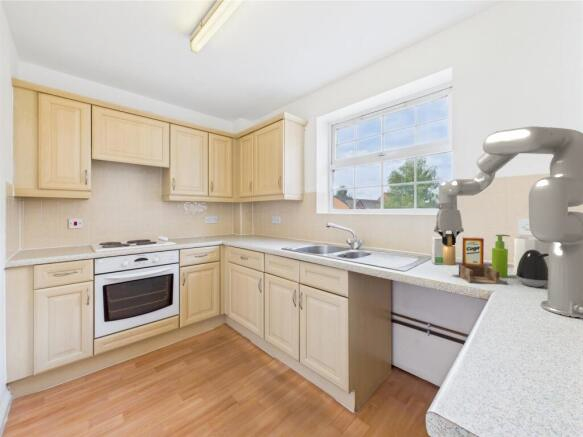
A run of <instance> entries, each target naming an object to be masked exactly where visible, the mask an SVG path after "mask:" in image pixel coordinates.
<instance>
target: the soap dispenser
mask: <svg viewBox="0 0 583 437" xmlns="http://www.w3.org/2000/svg"><path fill="white" fill-rule="evenodd" d="M495 237H497V240H496V241H495V243H494V244H495V245H494V247H492V248H491V268H492V269H495V270H497V271H499V278H508V272H509V271H508V264H509V263H508V262H509V258H508V255H509V249H508V248H505V241H503V237H511V235H508V234H502V233H501V234H495Z"/></svg>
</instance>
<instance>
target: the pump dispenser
mask: <svg viewBox="0 0 583 437" xmlns="http://www.w3.org/2000/svg"><path fill="white" fill-rule="evenodd" d="M546 256H549V254H548V253H546V254H541V253H540V252H539V251H537V250H528V251H526V252H525V253H524V254H523V256H522V257H521V259H520V261H519V264H518V267H517V273H515V274H516V276H517V279H518V281H519V283H521V284H523V285H525V286H527V287H532V288H543V287H544V286H546V285H548V266H547V263H546V261H545V259H544V257H546Z"/></svg>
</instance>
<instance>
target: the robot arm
mask: <svg viewBox="0 0 583 437" xmlns="http://www.w3.org/2000/svg"><path fill="white" fill-rule="evenodd" d="M482 149H483V151H484V153H483V154H482V155H481V156H479V158H477V160H476V166H477V168H478V169H479V170H480V172H478V174H477V175H475V176H474V177H473V178H472V179H469V178H468V179H465V178H464V179H462V178H461V179H459V178H458V179H457V178H456V179H453V180H449V181H444V182H440V183H439V184H438V204H437V205H435V207H436V209H438V210H437V213H436V214H437V215H436V222H435V223H436V224H435V225H436V226H435V227H434V230H433V233H434V232H435V233H437V234H438V235H439V236H440V237H442V243H443V245H447V237H446V234H447V231H448V232H449V231H450V232H451V234H453V236H452V246H456V243H457V237H458V235H459V234H462V233H463V232H464V231H465V230H464V228H463V223H462V222H463V221H462V215H461V212H460V210H459V209H458V197H462V196H464V197H465V196H467V197H468V196H469V197H470V196H476V195H478V194H480V193H481V192H483V191H484V190H485V189H487V188H488V187H489V186H490V185H491V184H492V183H493V182H494V180H495V176H496V173H497V172H498V171H499V170H500V169H502V168H503V167H504V166H506V165H507V164H508V163H509V162H511V161H512V160H513V159H514V158H516V157H517V156H518V155H520V154H530V155H531V154H533V155H552V156H553V157H552V158H551V161H550V164H549V176H547V177H544V178H543V177H542V178H540V179H538V180H537V181H536V182H534V184H533V185H532V186H531V188H530V189H529V191H528V223H529V224H528V225H529V230H530V233H531V234H532V237H535V238H536V239H538V240H539V241H542V242H545V243H551V246H550V249H549V256H548V283H547V300H543V301H541V302H540V307H541V308H542V309H544V310H546V311H548V312H551V313H554V314H556V315H557V314H558V315H560V314H561V316H566V317H569V316H571V318H575V317H580V318H579V319H583V212H581V211H571V210H569V208H573V207H579V206H582V205H583V132H581V131H580V130H575V129H572V128H564V127H563V128H562V127H552V126H551V127H548V126H533V125H532V126H523V127H518V128H517V127H516V128H510V129H504V130H497V131H494V132H492V133H491V134H488V136H487V137H486V138H485V139H484V141H483V143H482Z"/></svg>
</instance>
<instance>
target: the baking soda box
mask: <svg viewBox="0 0 583 437" xmlns="http://www.w3.org/2000/svg"><path fill="white" fill-rule="evenodd" d="M484 241H485V238H484V237H477V236H472V237H471V236H462V243H461V244H462V245H461V246H462V247H461V248H462V251H461V252H462V254H461V255H462V258H461V259H462V265H473V266H484V255H485V254H484V253H485V252H484V250H485V249H484V243H485V242H484Z"/></svg>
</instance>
